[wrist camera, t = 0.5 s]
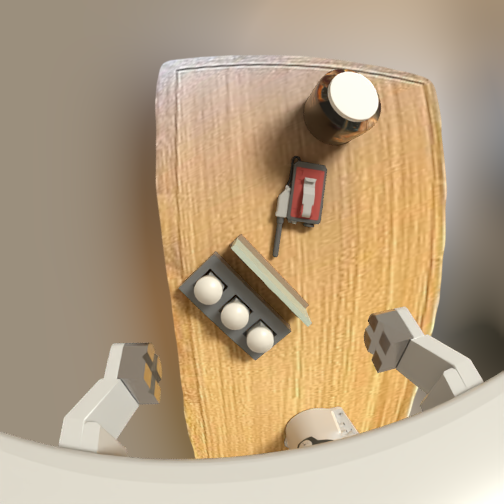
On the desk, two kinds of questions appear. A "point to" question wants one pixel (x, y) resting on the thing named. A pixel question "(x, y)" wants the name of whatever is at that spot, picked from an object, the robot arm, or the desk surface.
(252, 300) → the button board
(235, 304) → the button middle
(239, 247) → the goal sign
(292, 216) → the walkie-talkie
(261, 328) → the button
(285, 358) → the desk surface
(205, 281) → the button
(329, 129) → the jar
